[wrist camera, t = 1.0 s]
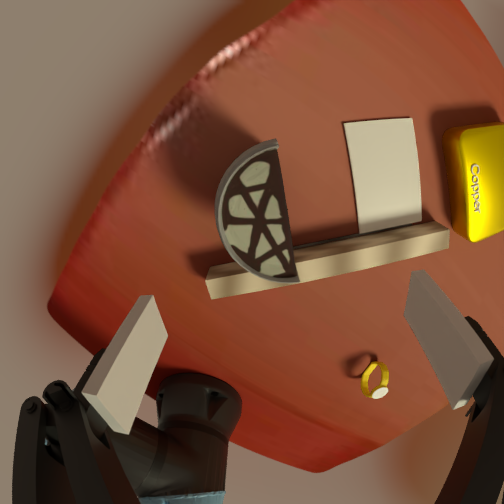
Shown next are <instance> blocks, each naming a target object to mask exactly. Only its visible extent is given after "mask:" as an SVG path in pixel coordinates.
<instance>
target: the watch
mask: <svg viewBox="0 0 504 504" xmlns="http://www.w3.org/2000/svg"><path fill="white" fill-rule="evenodd" d="M377 365H379V366H380V369H381V372H382V374H381V382H380V385H379V386H376V387H375V388H374V389H373V390H372V391H371V394H370V392H369V390H368V378H369V375H370V373H371V372H372V371H373V370H374V368H375V367H376V366H377ZM388 380H389V371H388V368H387V366H386V365H385V364H384V363H383V362H377V361H375V362H371V364H370V365H369V366H368V368H367V369H366V370H365V371H364V373H363V374H362V378H361V390H362V392H363V394H364V395H365V396H366V397H372V398H374V399H378V398H381V397H383V396H384V395H386V394H387V392H388V388H387V383H388Z"/></svg>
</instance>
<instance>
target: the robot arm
mask: <svg viewBox="0 0 504 504" xmlns="http://www.w3.org/2000/svg"><path fill="white" fill-rule="evenodd" d="M404 317H405V318H406V320H407V322H408V323H409V325H410V327H411V329H412V330H413V332H414V334H415V336H416V337H417V339H418V341H419V343H420V345H421V346H422V348H423V350H424V352H425V354H426V356H427V358H428V360H429V361H430V363H431V365H432V367H433V369H434V371H435V373H436V375H437V377H438V379H439V381H440V383H441V385H442V387H443V389H444V392H445V394H446V396H447V398H448V400H449V402H450V405H451V407H452V409H456V408H458V407H461V406H463V405H466V404H467V403H468V401H469V400H470V398H471V397H472V395H473V397H474V399H475V402H474V404H473V405H472V406H471V408H470V409H469V411H468V412H467V414H466V415H465V416H466V417H467V416H468V415H469V414H470V417H469V420H468V423H467V427H466V430H465V433H464V436H463V439H462V442H461V445H460V448H459V450H458V453H457V456H456V458H455V461H454V463H453V466H452V468H451V470H450V473H449V475H448V477H447V480H446V482H445V484H444V486H443V488H442V490H441V492H440V494H439V496H438V498H437V500H436V502H435V504H496V502H497V499H498V496H499V493H500V491H501V488H502V485H503V481H504V357H503V356H502V355H501V353H500V352H499V350H498V349H497V348H496V346H495V345H494V343H493V342H492V341H491V339H490V338H489V337H487V334H486V333H485V331H483V329H482V327H481V326H480V325H479V324H478V322H477V321H475V320H474V319H472V318H471V317H469V316H467V317H463V315H462V314H461V313H460V312H459V310H458V309H457V308H456V307H455V305H454V304H453V303H452V302H451V300H450V299H449V298H448V297H447V296H446V294H445V293H444V292H443V291H442V290H441V288H440V287H439V286H438V285H437V284H436V283H435V282H434V280H433V279H432V278H431V277H430V276H429V275H428V274H427V273H426V271H425V270H418V271H412V272H411V279H410V285H409V291H408V296H407V301H406V306H405V311H404ZM167 337H168V334H167V332H166V329H165V327H164V324H163V321H162V319H161V316H160V313H159V311H158V308H157V305H156V302H155V299H154V296H153V295H145V296H140V297H139V299H138V300H137V302H136V303H135V305H134V306H133V308H132V309H131V311H130V312H129V314H128V315H127V317H126V318H125V320H124V322H123V323H122V325H121V326H120V328H119V329H118V331H117V333H116V334H115V336H114V337H113V339H112V341H111V342H110V344H109V346H108V347H107V349H103V348H102V349H101V350H100V351H99V352H98V353H97V354H96V355H95V356H94V357H93V359H92V360H91V362H90V365H88V367H87V369H86V371H85V372H84V374H83V375H82V377H81V379H80V380H79V382H78V384H77V386H76V387H75V388H74V389H73V390H71V389H70V387H69V386H68V385H67V384H66V382H64V381H61V380H57V381H54V382H52V383H50V384H49V385H48V386H47V387H46V388H45V390H44V392H43V398H44V399H45V401H46V402H47V403H48V404H44V403H43V402H42V401H41V400H40V398H38V397H36V396H32V397H29V398H28V399H26V400H25V402H24V403H23V404H22V407H21V410H20V416H19V421H18V427H17V434H16V442H15V452H14V462H13V480H12V504H223V499H224V494H225V493H226V492H225V479H226V467H227V454H228V442H229V438H230V436H231V434H232V432H233V431H234V429H235V427H236V425H237V423H238V421H239V419H240V416H241V410H242V400H241V397H240V395H239V394H238V393H237V391H236V390H235V389H234V388H232V387H231V386H230V385H228V384H227V383H225V382H223V381H221V380H219V379H216V378H214V377H210V376H207V375H202V374H195V373H181V374H175V375H172V376H169V377H167V378H166V379H164V380H163V381H162V382H161V384H160V386H159V389H158V392H157V396H156V404H157V416H158V428H156V427H154V426H152V425H150V424H148V423H146V422H144V421H143V420H141V419H139V418H137V417H135V416H136V414H137V411H138V408H139V406H140V403H141V401H142V398H143V396H144V393H145V391H146V388H147V386H148V383H149V381H150V378H151V376H152V373H153V371H154V368H155V366H156V363H157V361H158V358H159V356H160V354H161V351H162V349H163V347H164V344H165V342H166V339H167ZM470 412H471V413H470ZM137 496H138V498H137ZM502 504H504V492H503V499H502Z"/></svg>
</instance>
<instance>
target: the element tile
mask: <svg viewBox="0 0 504 504" xmlns="http://www.w3.org/2000/svg"><path fill="white" fill-rule="evenodd" d="M442 147H443V152H444V158H445V164H446V171H447V178H448V186H449V196H450V207H451V222H452V228H453V230H454V231H455V232H456V233H457V234H459V235H460V236H462V237H463V238H465V239H466V240H468V241H470V242H473V243H476V242H479V241H481V240H483V239H486V238H488V237H490V236H492V235H495V234H497V233H499V232H501V231H503V230H504V122H490V123H482V124H474V125H467V126H460V127H453V128H449V129H447V130H446V131H445V132H444V134H443V137H442Z"/></svg>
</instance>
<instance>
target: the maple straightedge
mask: <svg viewBox="0 0 504 504" xmlns="http://www.w3.org/2000/svg"><path fill="white" fill-rule="evenodd" d="M410 225H412V223H410V224H405V225H400V226H395V227H390V228H385V229H381V230H376V231H371V232H366V233H361V234H360V233H358V234H353V235H348V236H343V237H338V238H334V239H329V240H324V241H319V242H314V243H309V244H304V245H299V246H294V247H293V249H297V250H294V259H295V264H296V268H297V272H298V276H299V280H300V283H302V282H307V281H312V280H317V279H321V278H326V277H331V276H335V275H340V274H345V273H349V272H354V271H358V270H362V269H367V268H371V267H375V266H380V265H384V264H388V263H392V262H396V261H400V260H404V259H408V258H412V257H416V256H420V255H424V254H428V253H432V252H436V251H440V250H443V249H447V248H449V232H450V229H448V228H446V227H445V226H443V225H441V224H440V223H438V222H436V221H432V222H428V223H423V224H418V225H413V226H410ZM405 226H409V227H405ZM400 227H404V228H400ZM395 228H399V229H395ZM390 229H394V230H390ZM386 230H390V231H386ZM381 231H385V232H381ZM376 232H380V233H376ZM371 233H375V234H371ZM366 234H370V235H366ZM361 235H366V236H361ZM357 236H361V237H357ZM352 237H356V238H352ZM347 238H351V239H347ZM342 239H346V240H342ZM337 240H341V241H337ZM332 241H336V242H332ZM327 242H331V243H327ZM322 243H327V244H322ZM317 244H322V245H317ZM313 245H317V246H313ZM308 246H312V247H308ZM303 247H307V248H303ZM298 248H302V249H298ZM205 281H206V284H207V287H208V290H209V293H210V296H211V299H216V298H222V297H228V296H234V295H239V294H245V293H250V292H256V291H261V290H266V289H272V288H277V287H282V286H287V285H292V284H297V283H291V284H290V283H277V282H272V281H268V280H265V279H262V278H259V277H257V276H255V275H254V274H252V273H250V272H248V271H247V270H246V269H244V268H243V267H241V266H240V265H239V264H238V263H237V262H232V263H227V264H222V265H217V266H212V267H210V268H209V271H208V274H207V277H206V280H205Z"/></svg>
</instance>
